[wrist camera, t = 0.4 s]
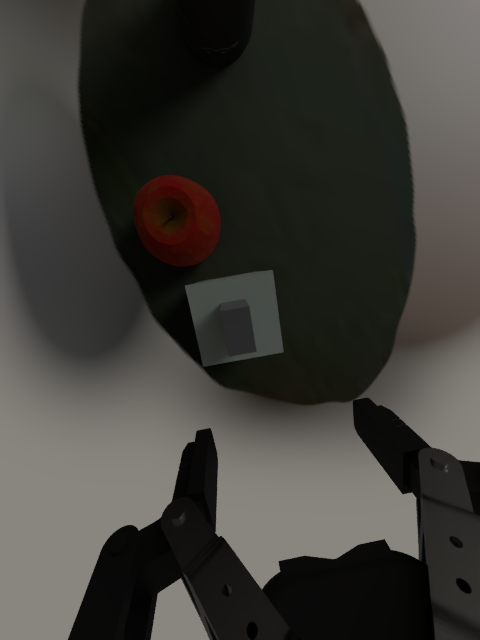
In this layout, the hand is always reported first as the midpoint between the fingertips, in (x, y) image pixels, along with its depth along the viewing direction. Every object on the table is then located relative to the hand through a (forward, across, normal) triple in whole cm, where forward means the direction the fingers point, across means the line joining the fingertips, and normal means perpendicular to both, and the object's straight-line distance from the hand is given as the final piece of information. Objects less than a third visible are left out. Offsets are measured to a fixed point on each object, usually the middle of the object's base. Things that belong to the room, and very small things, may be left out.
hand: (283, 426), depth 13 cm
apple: (+27, +6, -14) cm, 31 cm away
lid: (+19, +1, -2) cm, 20 cm away
